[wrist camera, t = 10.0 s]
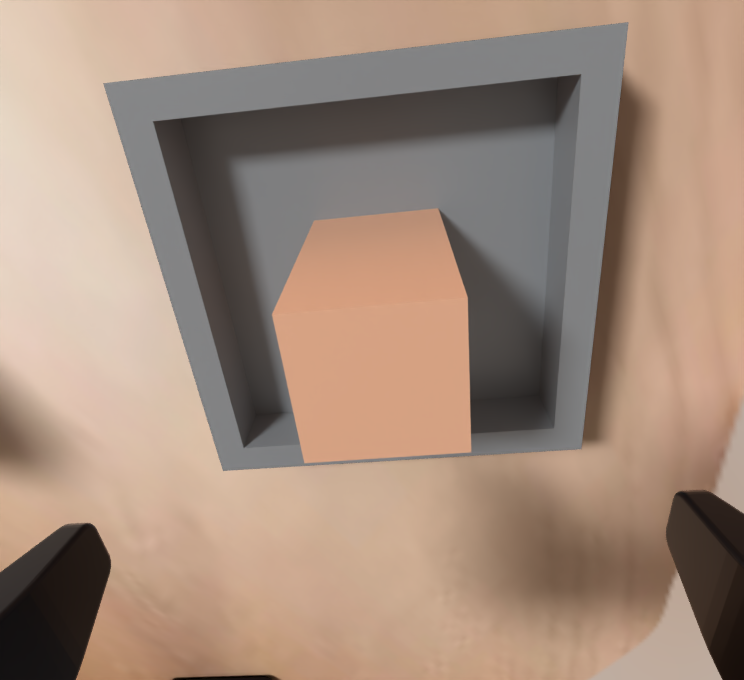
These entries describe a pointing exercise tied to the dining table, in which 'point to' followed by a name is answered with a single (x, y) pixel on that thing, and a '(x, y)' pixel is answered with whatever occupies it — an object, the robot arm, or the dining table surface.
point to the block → (376, 339)
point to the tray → (387, 195)
